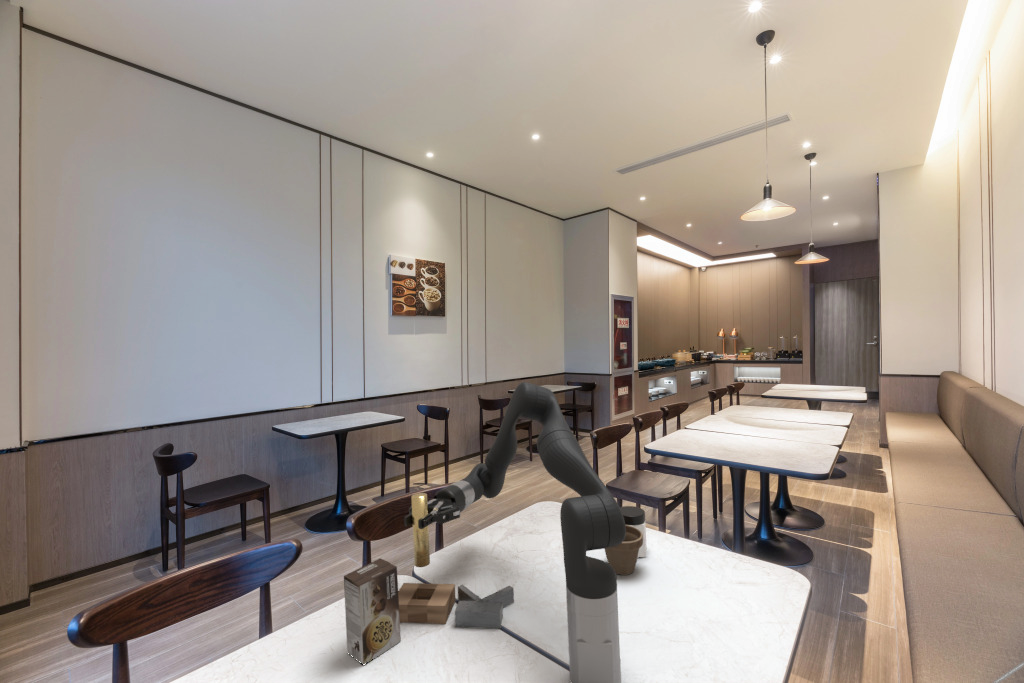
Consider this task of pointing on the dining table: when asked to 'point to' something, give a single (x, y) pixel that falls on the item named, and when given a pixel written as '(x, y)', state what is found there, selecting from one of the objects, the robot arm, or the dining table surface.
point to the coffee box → (372, 610)
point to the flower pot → (625, 552)
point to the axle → (420, 530)
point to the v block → (482, 608)
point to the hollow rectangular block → (426, 602)
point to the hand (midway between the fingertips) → (412, 523)
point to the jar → (636, 524)
